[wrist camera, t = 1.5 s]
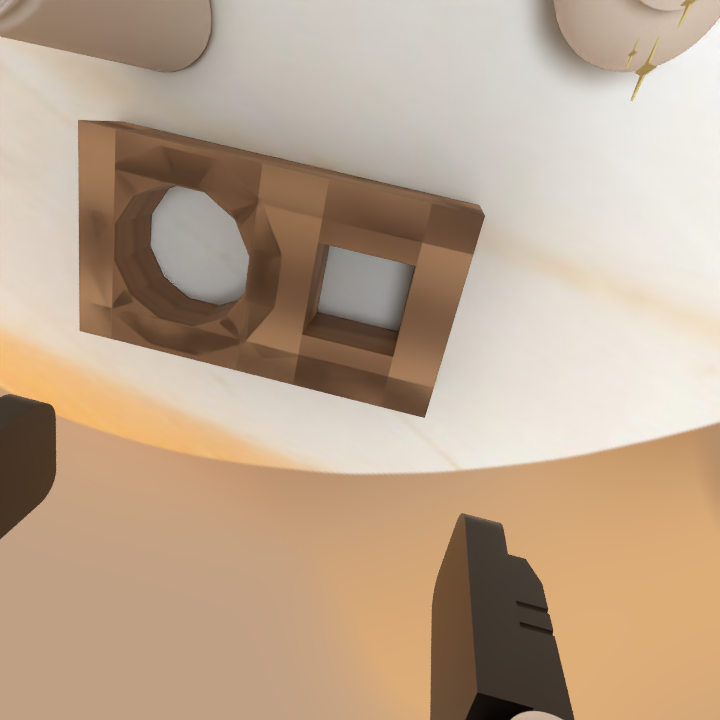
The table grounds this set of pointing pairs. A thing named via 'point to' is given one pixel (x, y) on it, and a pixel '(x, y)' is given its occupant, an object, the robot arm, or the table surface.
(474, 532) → the robot arm
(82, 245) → the walnut bore block
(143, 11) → the beverage can
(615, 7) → the round potion bottle
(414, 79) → the table surface
